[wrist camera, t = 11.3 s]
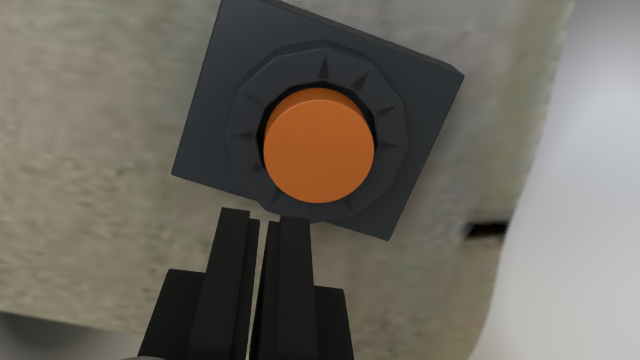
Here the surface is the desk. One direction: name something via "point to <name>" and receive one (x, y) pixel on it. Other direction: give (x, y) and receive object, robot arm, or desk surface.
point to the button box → (301, 73)
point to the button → (318, 145)
